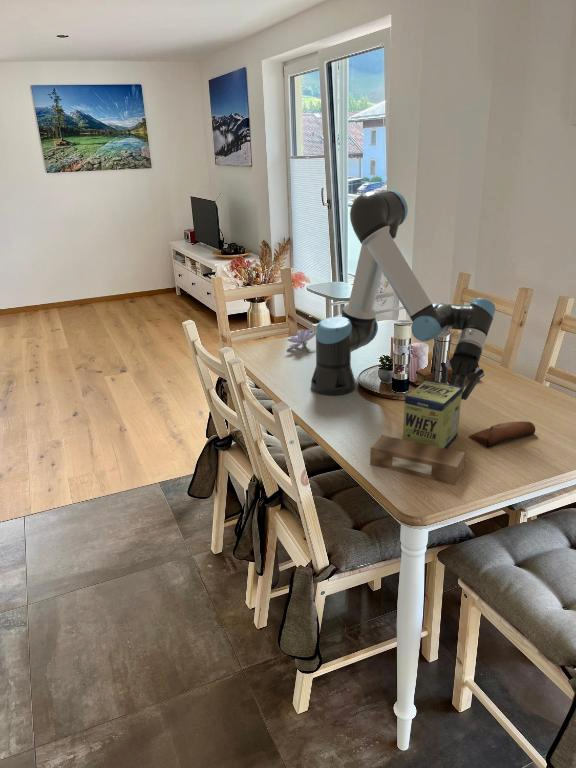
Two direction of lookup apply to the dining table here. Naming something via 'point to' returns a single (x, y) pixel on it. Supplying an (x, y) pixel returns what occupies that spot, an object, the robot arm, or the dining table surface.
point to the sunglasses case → (503, 433)
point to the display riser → (418, 459)
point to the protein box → (432, 414)
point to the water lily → (301, 338)
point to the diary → (427, 375)
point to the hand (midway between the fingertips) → (445, 418)
